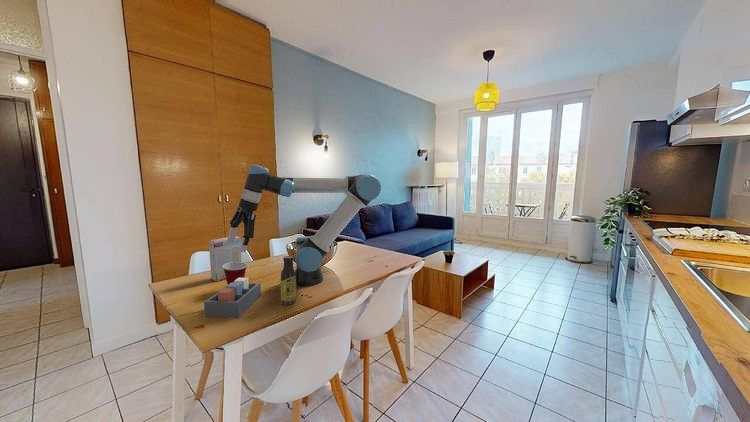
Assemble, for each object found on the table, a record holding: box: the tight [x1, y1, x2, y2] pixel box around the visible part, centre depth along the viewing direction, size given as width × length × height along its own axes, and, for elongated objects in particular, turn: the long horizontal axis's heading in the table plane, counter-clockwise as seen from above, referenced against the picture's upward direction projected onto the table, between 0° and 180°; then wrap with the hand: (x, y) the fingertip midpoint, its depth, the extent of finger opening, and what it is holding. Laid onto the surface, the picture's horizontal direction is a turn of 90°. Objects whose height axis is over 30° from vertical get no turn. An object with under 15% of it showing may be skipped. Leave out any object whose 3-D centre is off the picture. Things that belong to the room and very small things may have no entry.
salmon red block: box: [217, 287, 235, 301], centre depth 111 cm, size 4×4×5 cm
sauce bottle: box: [280, 255, 297, 306], centre depth 120 cm, size 6×6×20 cm
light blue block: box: [225, 283, 242, 294], centre depth 117 cm, size 4×4×5 cm
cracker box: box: [208, 235, 243, 283], centre depth 150 cm, size 14×6×21 cm, turn 144°
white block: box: [234, 277, 250, 289], centre depth 123 cm, size 4×4×5 cm
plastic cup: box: [222, 261, 249, 285], centre depth 134 cm, size 11×11×12 cm
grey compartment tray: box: [203, 282, 262, 319], centre depth 118 cm, size 13×20×6 cm, turn 179°
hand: (235, 246), depth 124 cm, fingers open, 13 cm apart
